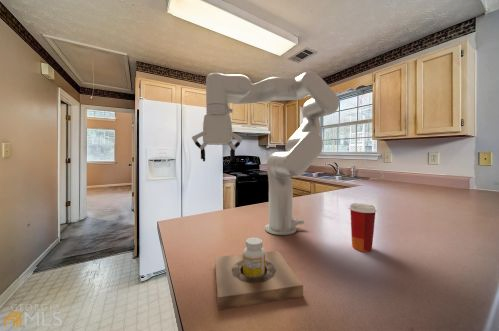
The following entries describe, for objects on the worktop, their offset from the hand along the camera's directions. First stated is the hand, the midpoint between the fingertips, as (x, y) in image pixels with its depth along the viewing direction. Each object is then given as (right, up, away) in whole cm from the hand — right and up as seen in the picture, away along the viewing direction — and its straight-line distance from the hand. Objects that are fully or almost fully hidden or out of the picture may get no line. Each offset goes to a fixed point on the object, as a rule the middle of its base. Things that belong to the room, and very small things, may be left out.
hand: (218, 161), depth 71 cm
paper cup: (+47, -29, -5) cm, 56 cm away
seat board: (+12, -29, -22) cm, 38 cm away
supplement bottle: (+12, -30, -21) cm, 39 cm away
